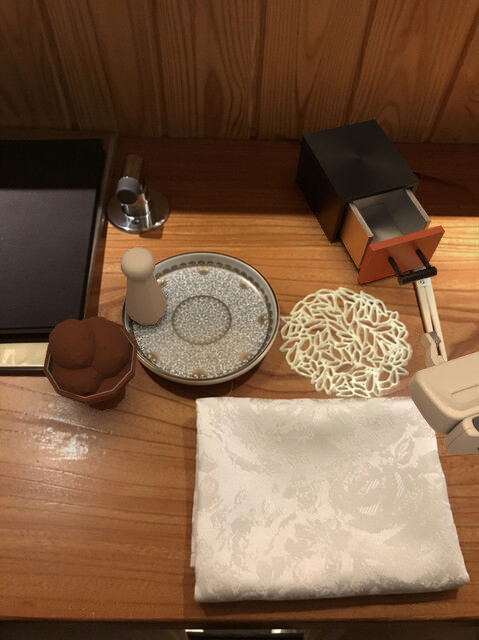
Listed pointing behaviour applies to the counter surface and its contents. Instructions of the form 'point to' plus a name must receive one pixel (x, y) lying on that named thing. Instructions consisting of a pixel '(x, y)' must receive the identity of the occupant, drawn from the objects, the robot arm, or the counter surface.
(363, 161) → the black drawer cabinet
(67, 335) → the ice cream bowl
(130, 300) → the salt shaker
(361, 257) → the red drawer
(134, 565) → the counter surface
